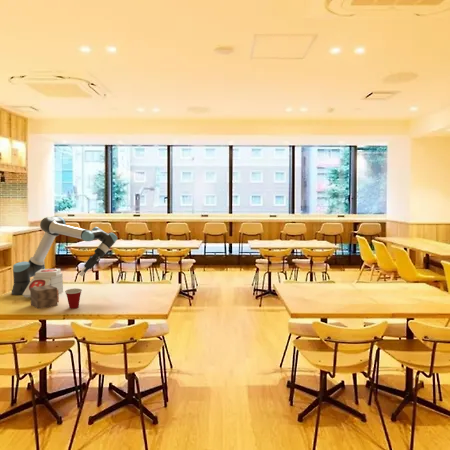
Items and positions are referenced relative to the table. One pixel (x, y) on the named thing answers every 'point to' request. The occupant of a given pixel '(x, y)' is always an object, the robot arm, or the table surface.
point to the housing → (43, 296)
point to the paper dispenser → (45, 280)
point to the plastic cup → (73, 297)
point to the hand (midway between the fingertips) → (80, 275)
